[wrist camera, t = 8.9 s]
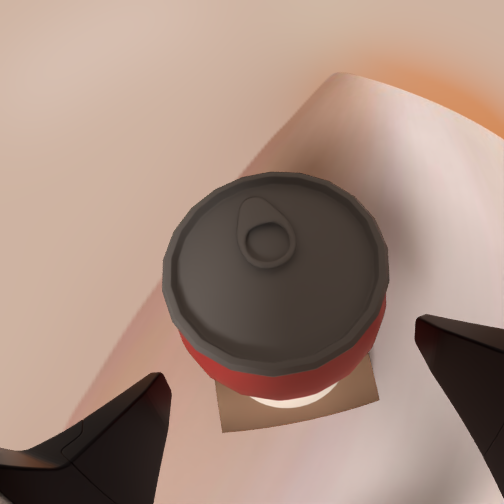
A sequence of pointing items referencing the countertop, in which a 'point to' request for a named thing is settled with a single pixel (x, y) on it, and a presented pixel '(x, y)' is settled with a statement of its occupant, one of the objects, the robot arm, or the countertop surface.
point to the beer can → (277, 284)
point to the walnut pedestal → (296, 402)
